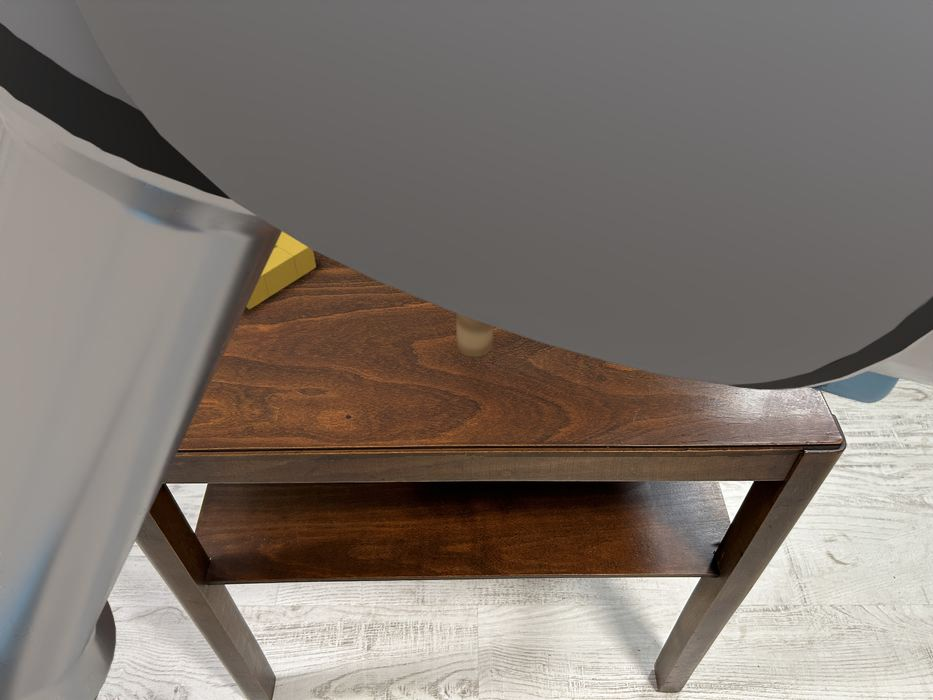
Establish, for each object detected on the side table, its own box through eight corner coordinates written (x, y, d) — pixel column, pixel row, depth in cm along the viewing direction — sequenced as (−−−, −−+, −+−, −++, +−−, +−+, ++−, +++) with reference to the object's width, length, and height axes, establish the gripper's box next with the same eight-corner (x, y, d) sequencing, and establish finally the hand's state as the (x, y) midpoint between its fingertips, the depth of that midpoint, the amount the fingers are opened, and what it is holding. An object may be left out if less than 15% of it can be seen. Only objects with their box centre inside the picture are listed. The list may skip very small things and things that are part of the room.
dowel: (477, 362, 70) (481, 84, 50) (449, 345, 72) (443, 69, 52) (500, 342, 72) (513, 67, 52) (472, 326, 74) (475, 53, 54)
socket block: (249, 309, 84) (242, 286, 81) (197, 273, 88) (189, 250, 86) (316, 267, 89) (312, 244, 87) (264, 235, 94) (258, 212, 91)
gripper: (633, 389, 52) (369, 282, 61) (705, 264, 62) (470, 187, 71) (652, 312, 47) (360, 206, 55) (727, 189, 57) (471, 115, 65)
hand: (422, 196), depth 63 cm, fingers closed on dowel, 4 cm apart
